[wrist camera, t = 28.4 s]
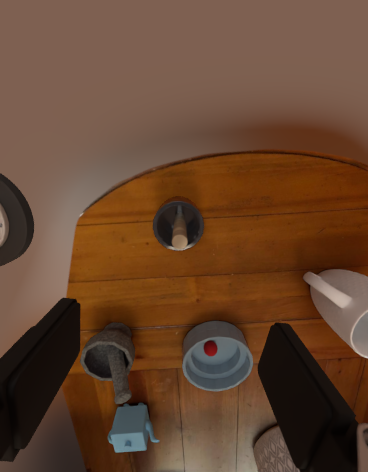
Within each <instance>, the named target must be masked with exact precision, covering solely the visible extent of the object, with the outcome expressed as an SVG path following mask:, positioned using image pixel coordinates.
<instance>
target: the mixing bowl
mask: <svg viewBox="0 0 368 472" xmlns="http://www.w3.org/2000/svg"><path fill="white" fill-rule="evenodd" d="M207 341H214V342H215V343H216V345H217V348H218V350H217V353H216V354H215V355H214V356H208V355H206V354H205V352H204V344H205V343H206V342H207ZM252 366H253V359H252V354H251V352H250V349H249V347H248V344H247V341H246V339H245V337H244V335H243V333H242V332H241V331H240V330H239V329H238V328H237V327H236V326H235V325H232V324H230V323H227V322H223V321H209V322H204V323H202V324H200V325H197V326H195V327H194V328H193V329H192V330H191V331H189V332H188V334H187V335H186V337H185V339H184V341H183V346H182V367H183V372H184V375H185V376H186V378H187V379H188V381H189V382H190V383H192V384H193V385H195V386H196V387H198V388H201V389H204V390H208V391H222V390H228V389H230V388H233V387H235V386H237V385H239V384H240V383H241V382H243V381H244V380H245V379H246V378H247V377H248V375H249V374H250V372H251V369H252Z"/></svg>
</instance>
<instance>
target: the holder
mask: <svg viewBox="0 0 368 472" xmlns="http://www.w3.org/2000/svg"><path fill="white" fill-rule="evenodd" d="M179 212H181V213H183V214H184V215H185V223H186V232H187V241H188V243H187V246H186V247H185V248H183V249H176V248H175V247H174V246H173V245H172V236H173V228H174V220H175V215H176V214H177V213H179ZM203 230H204V222H203V217H202V215H201V213H200V212H199V210H198V208H197V206H196V205H195V203H193V202H192V201H191V200H190V199H188V198H185V197H181V196H176V197H172V198H169V199H167V200H166V201H165V202H164V203H163V204H162V205H161V206H160V208H159V210H158V211H157V213H156V215H155V217H154V220H153V231H154V234H155V237H156V238H157V240H158V241H159V243H160V244H162V245H163V246H165V247H166V248H168V249H171V250H175V251H177V250H186V249H188V248H191V247H193V246H194V245H195V244H196V243H197V242H198V241H199V240H200V238H201V236H202V234H203Z"/></svg>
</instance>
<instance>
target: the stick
mask: <svg viewBox="0 0 368 472" xmlns="http://www.w3.org/2000/svg"><path fill="white" fill-rule="evenodd" d="M187 243H188V241H187V232H186V223H185V215H184V214H183V213H181V212H179V213H177V214H176V215H175V220H174V228H173V236H172V245H173V246H174V247H175V248H176V249H183V248H185V247H186V246H187Z"/></svg>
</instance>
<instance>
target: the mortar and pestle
mask: <svg viewBox="0 0 368 472" xmlns="http://www.w3.org/2000/svg"><path fill="white" fill-rule="evenodd" d="M131 335H132V333H131V331H130V329H129V327H128V326H126V325H124V324H123V323H111V324H109V325H107V326H106V327H105V329H104V330H103V331H101V332H100V333H98V334H96V335H95V336H93V337H91V338H90V340H89V341H88V342H87V343H86V345H85V347H84V349H83V352H82V356H81V359H80V363H81V364H82V366H83V368H84V370H85V372H86V373H87V374H89V375H91V376H93V377H95V378H96V379H98V380H100V381H113V385H114V390H115V395H116V396H115V399H114V400H115V403H116V404H122V403H124V402H126V401H128V400H129V399H130V397H131V395H132V394H131V391H130V390H129V384H128V376H127V375H128V374H129V372H130V369H131V367H132V364H133V361H134V357H135V348H134V345H133V343H132V340H131Z"/></svg>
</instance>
